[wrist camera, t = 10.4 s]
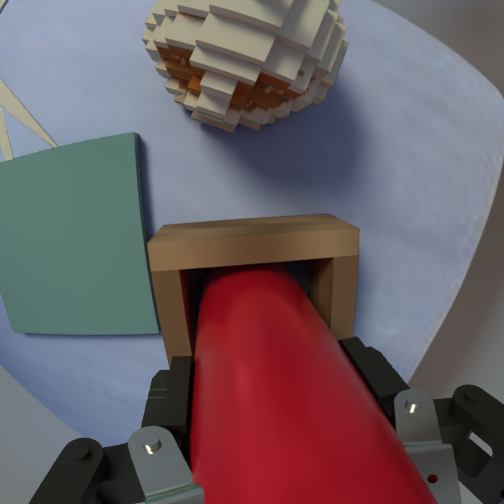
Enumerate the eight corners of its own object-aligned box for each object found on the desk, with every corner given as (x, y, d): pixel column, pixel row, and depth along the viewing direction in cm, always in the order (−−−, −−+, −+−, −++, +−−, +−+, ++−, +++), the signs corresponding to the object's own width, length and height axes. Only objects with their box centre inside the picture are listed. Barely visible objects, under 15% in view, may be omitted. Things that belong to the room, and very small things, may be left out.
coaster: (19, 327, 17) (13, 332, 16) (-13, 168, 14) (-20, 169, 13) (161, 326, 18) (158, 333, 17) (137, 133, 15) (133, 132, 14)
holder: (190, 394, 19) (187, 437, 15) (163, 225, 16) (146, 243, 12) (321, 380, 20) (339, 419, 16) (329, 213, 17) (359, 228, 13)
